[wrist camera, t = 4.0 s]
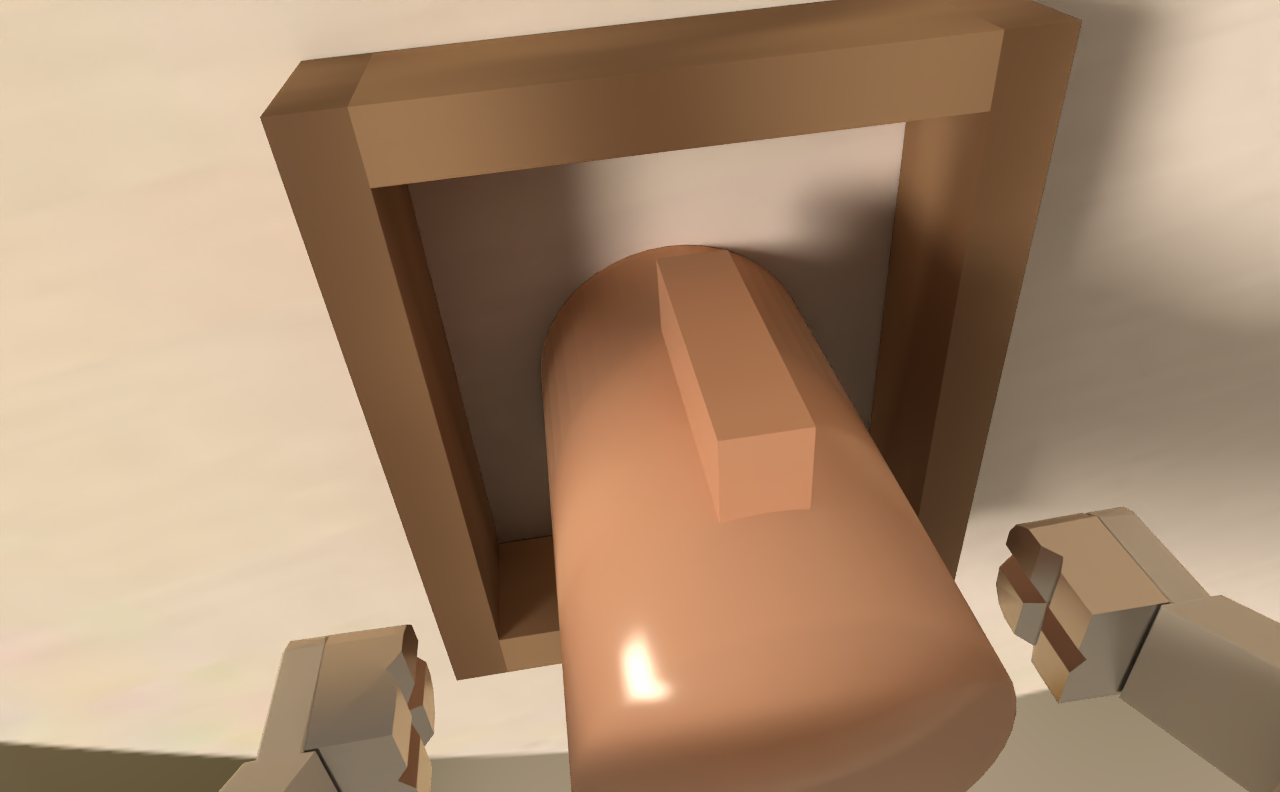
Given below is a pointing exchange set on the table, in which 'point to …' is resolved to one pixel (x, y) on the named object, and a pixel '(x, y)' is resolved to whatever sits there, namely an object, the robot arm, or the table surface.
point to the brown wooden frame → (658, 122)
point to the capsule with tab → (743, 555)
